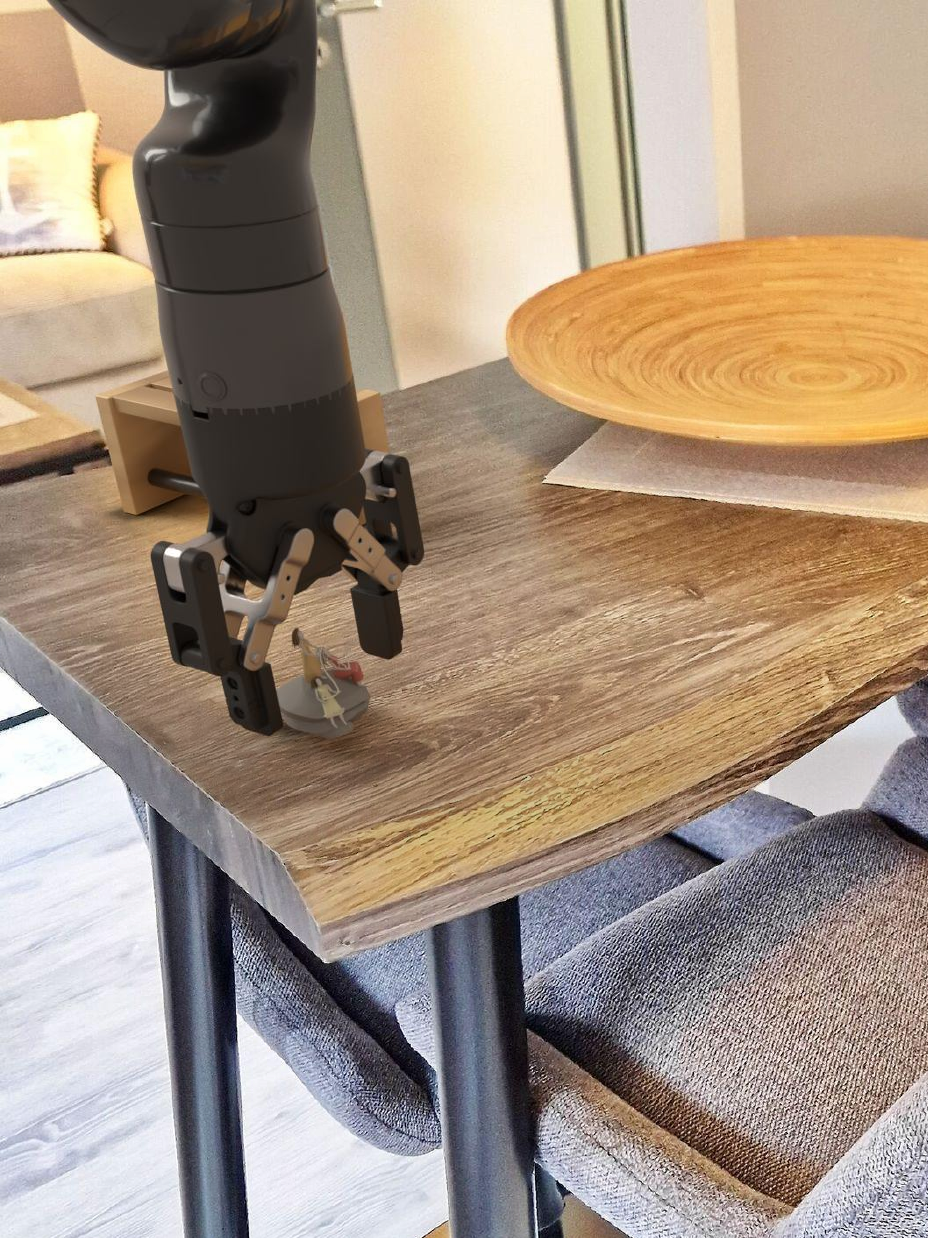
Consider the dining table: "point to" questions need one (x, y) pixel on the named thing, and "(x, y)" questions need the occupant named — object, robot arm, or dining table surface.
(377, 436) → the rack
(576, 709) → the dining table surface
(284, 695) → the figurine
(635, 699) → the dining table surface
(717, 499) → the dining table surface
